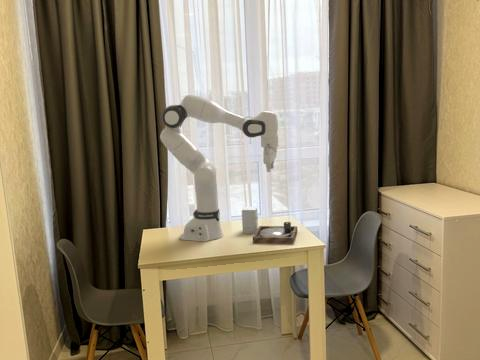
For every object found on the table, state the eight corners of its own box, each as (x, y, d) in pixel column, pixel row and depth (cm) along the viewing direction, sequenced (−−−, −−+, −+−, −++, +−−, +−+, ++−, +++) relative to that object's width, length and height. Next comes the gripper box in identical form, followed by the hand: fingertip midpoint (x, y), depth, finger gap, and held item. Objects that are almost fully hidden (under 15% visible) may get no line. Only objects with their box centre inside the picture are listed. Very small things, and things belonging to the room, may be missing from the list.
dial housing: (252, 243, 242) (252, 236, 241) (259, 231, 261) (259, 225, 260) (293, 243, 238) (293, 237, 237) (297, 231, 257) (297, 225, 256)
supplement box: (256, 233, 258) (255, 210, 255) (242, 233, 259) (241, 210, 257) (258, 229, 265) (257, 206, 263) (245, 229, 266) (243, 206, 264)
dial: (256, 239, 244) (255, 226, 243) (264, 230, 259) (264, 217, 258) (287, 240, 239) (287, 227, 238) (294, 231, 254) (294, 218, 253)
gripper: (272, 145, 238) (273, 173, 240) (278, 140, 258) (279, 166, 260) (259, 145, 239) (260, 173, 242) (266, 141, 259) (267, 166, 261)
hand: (270, 170), depth 251 cm, fingers open, 8 cm apart
